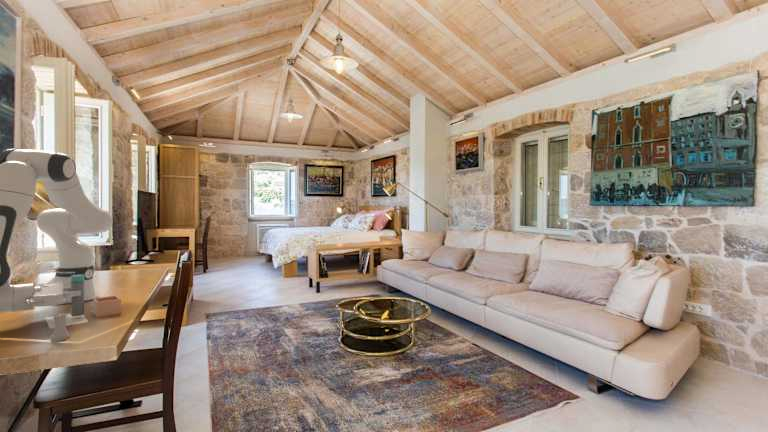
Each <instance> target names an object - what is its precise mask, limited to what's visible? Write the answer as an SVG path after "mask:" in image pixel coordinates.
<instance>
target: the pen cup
mask: <svg viewBox="0 0 768 432" xmlns="http://www.w3.org/2000/svg"><path fill="white" fill-rule="evenodd" d="M121 311H122V299H121V297H119V296H118V295H111V296H110V295H109V296H103V297H97V298H94V299H92V314H93V315H94V316H95V317H96V318H99V317H106V316H112V315H117V314H118V315H119V314H121V313H122V312H121Z"/></svg>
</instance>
